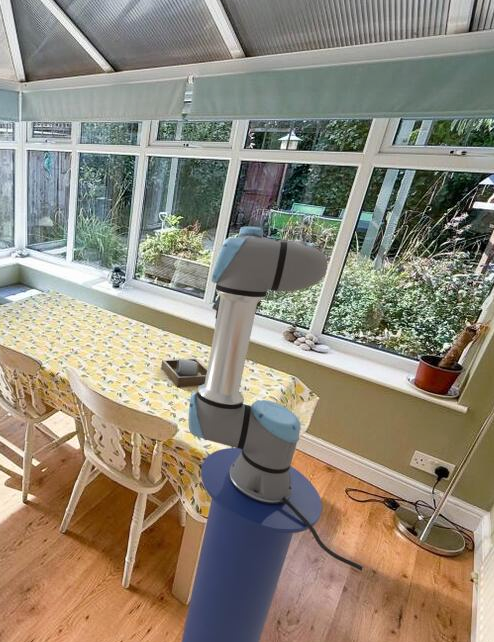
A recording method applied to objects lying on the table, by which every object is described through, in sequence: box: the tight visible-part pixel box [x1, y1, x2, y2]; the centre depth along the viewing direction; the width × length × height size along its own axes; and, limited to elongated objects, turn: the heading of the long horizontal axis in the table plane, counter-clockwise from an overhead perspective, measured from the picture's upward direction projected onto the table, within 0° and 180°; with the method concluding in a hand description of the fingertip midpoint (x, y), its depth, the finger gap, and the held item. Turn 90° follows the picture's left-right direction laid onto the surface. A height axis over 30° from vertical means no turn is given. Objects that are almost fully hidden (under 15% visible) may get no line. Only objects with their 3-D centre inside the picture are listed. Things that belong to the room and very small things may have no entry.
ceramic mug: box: [175, 357, 199, 377], centre depth 174 cm, size 11×8×8 cm
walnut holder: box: [160, 357, 208, 388], centre depth 174 cm, size 16×16×5 cm
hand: (232, 326), depth 154 cm, fingers open, 13 cm apart
